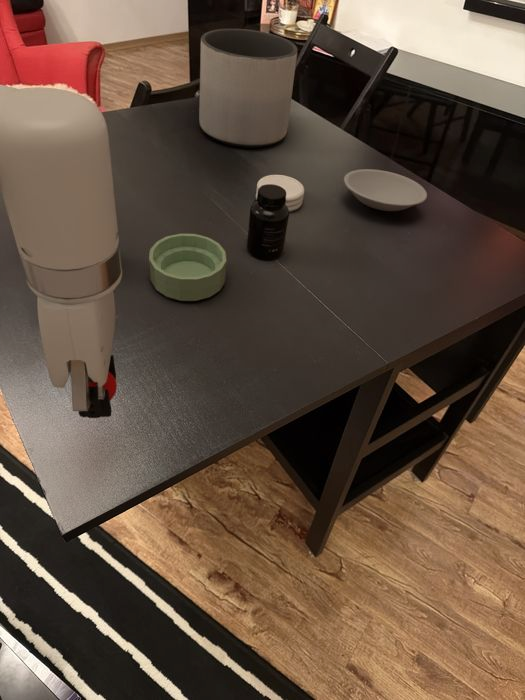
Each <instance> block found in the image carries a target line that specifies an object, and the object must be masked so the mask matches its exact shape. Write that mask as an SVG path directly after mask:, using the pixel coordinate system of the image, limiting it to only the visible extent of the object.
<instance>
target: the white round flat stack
mask: <svg viewBox="0 0 525 700" xmlns="http://www.w3.org/2000/svg"><path fill="white" fill-rule="evenodd" d="M266 184H273V185H277V186H280V187H282V188H283V189H285V191H286V203H285V204H286V206H287V207H288V209H289V213H290V212H294V211H296V210H298V209H300V208H301V206H302V205H303V200H304V194H305V187H304V185H303V184H302V182H300V181H299V180H297V179H296V178H293V177H291V176H288V175H283V174H269V175H265V176H263V177H261V178H260V179H259V180H258V181H257V184H256V190H255V191H256V193H255V201H256V200H257V195H258V189H259V188H260V187H261V186H263V185H266Z"/></svg>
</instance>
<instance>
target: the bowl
mask: <svg viewBox="0 0 525 700" xmlns="http://www.w3.org/2000/svg"><path fill="white" fill-rule="evenodd" d="M148 255H149V256H148V265H149V276H150V282H151V284H152V286H153V287H154V289H155V290H156V291H157V292H159V293H160V294H161V295H163V296H164V297H166V298H168V299H173V300H177V301H181V302H196V301H200V300H205V299H209V298H211V297H212V296H214V295H216V294H217V293H218V292H220V291H221V290H222V288H223V286H224V285H225V283H226V273H227V252H226V250H225V249H224V248H223V246H222V245H221V244H220V243H219V242H217V241H216V240H214V239H212V238H210V237H208V236H204V235H201V234H197V233H177V234H172V235H167V236H165V237H163V238H161V239H159V240H157V241H156V242H154V244H153V245H152V246H151V248H150V249H149V254H148Z"/></svg>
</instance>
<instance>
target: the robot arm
mask: <svg viewBox="0 0 525 700" xmlns="http://www.w3.org/2000/svg"><path fill="white" fill-rule="evenodd" d="M0 192H1V195H2V200H3V202H4V207H5V210H6V213H7V216H8V220H9V223H10V227H11V230H12V233H13V236H14V240H15V241H14V242H15V244H16V248H17V252H18V256H19V259H20V261H21V265H22V268H23V273H24V276H25V280H26V283H27V286H28V288H29V289H30V290H31V292H32V293H34V294H35V295H36V298H37V299H36V304H37V318H38V325H39V326H38V327H39V333H40V340H41V343H42V349H43V353H44V355H43V356H44V359H45V364H46V367H47V372H48V376H49V377H48V378H49V380H50V383H51V385H52V386H53V387H54V388H56V389H59V388H60V389H65V387H66V384H67V382H68V380H69V377H70V386H71V407H72V412H78V415H79V417H81V418H88V419H99V418H109V417H111V416H112V411H113V410H112V405H111V400H110V397H109V391H108V390H106V389H105V386H104V384H105V383H106V381H107V376H108V371H109V372H110V373H111V374H112V375H113V376H114V378H115V380H116V381H117V373H116V365H115V358H114V355H113V354H112V350H113V343H114V336H115V329H116V328H115V327H116V304H115V303H116V301H115V294H114V293H115V292H114V290H115V289H116V288H117V287H118V286H119V284H120V283H121V282H122V277H123V268H122V259H121V258H122V257H121V247H120V238H119V237H120V236H119V229H118V218H117V210H116V200H115V188H114V179H113V168H112V158H111V149H110V137H109V132H108V125H107V122H106V118H105V117H104V115H103V113H102V111H101V110H100V108H99V107H98V106H97V104H95V103H94V102H93V101H92V100H90V99H88V98H87V97H85V96H84V95H82V94H79V93H77V92H74V91H70V90H66V89H61V88H54V87H23V88H18V87H12V86H9V85H4V84H0ZM88 381H94V382H96V386H88Z"/></svg>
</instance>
